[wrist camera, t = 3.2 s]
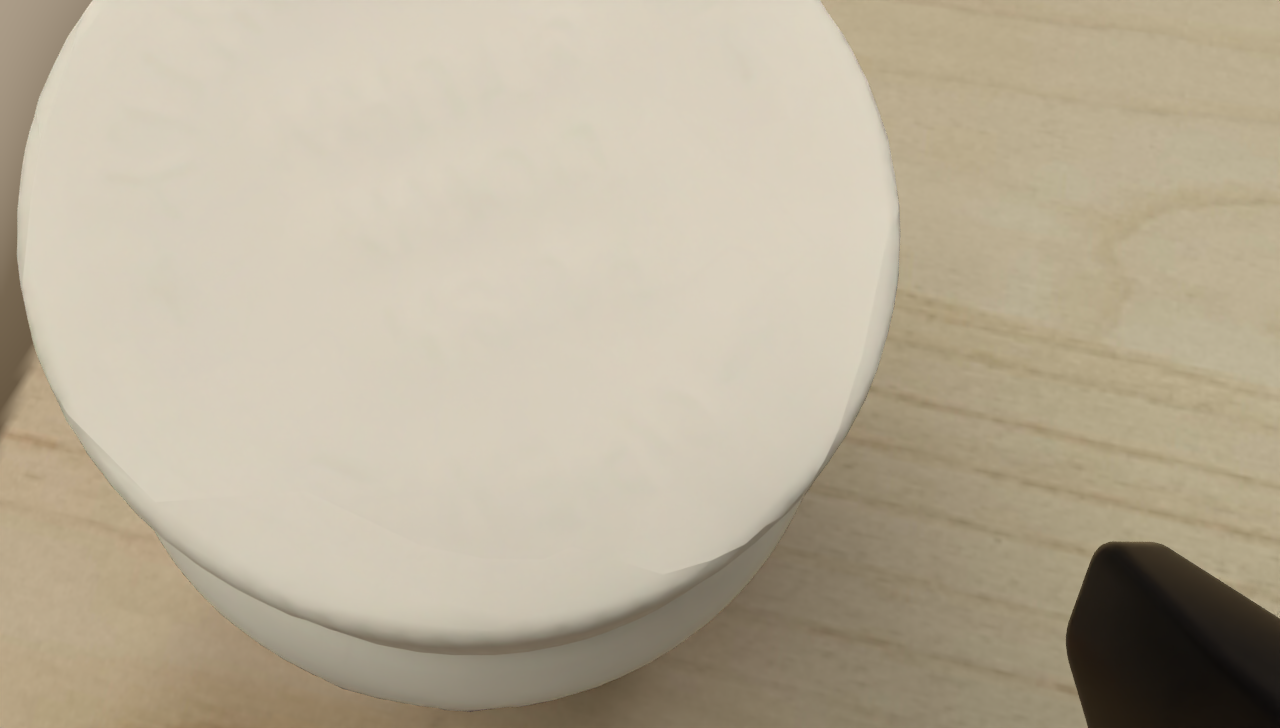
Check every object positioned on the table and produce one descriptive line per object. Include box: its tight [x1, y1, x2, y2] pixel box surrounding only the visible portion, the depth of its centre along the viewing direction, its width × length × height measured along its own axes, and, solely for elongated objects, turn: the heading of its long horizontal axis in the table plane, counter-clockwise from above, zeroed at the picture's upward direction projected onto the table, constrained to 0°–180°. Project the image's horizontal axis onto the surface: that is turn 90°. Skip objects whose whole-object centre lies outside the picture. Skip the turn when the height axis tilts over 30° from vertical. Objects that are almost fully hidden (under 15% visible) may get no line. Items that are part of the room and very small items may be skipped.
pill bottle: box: [17, 0, 900, 712], centre depth 12 cm, size 6×6×11 cm
